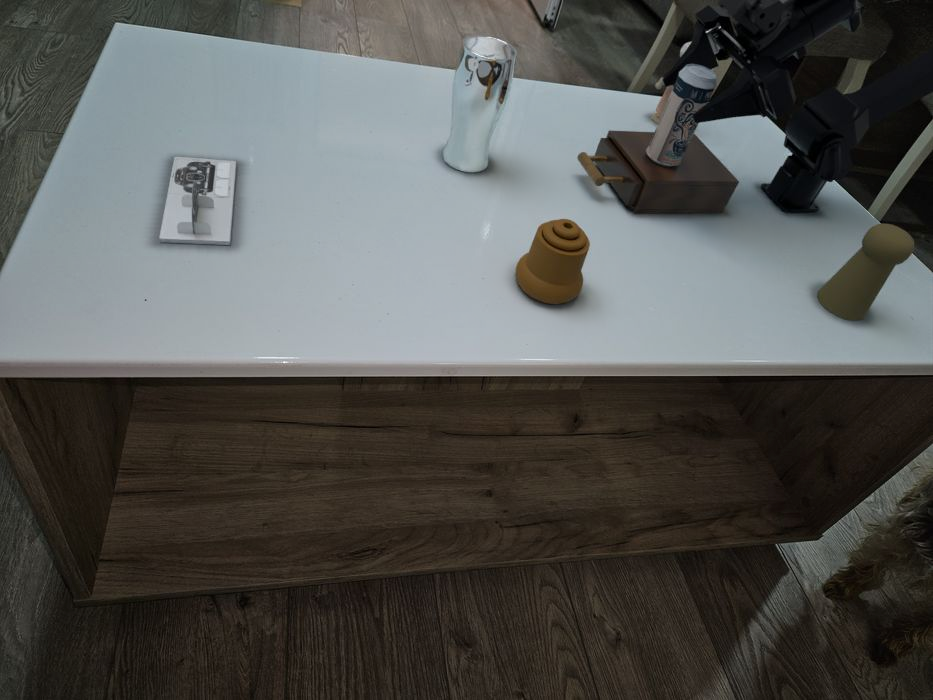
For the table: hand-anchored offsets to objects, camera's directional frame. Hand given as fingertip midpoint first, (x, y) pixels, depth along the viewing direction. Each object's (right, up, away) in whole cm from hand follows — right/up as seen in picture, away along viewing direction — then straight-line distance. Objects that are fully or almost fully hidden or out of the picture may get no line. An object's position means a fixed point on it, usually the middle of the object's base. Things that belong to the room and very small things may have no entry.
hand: (678, 100), depth 85 cm
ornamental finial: (-17, -24, -9) cm, 31 cm away
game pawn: (+20, -25, 0) cm, 32 cm away
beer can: (0, -6, +6) cm, 8 cm away
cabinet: (+1, -8, +11) cm, 14 cm away
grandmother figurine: (+5, +6, +27) cm, 28 cm away
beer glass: (-26, -6, +6) cm, 28 cm away
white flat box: (-55, -15, -11) cm, 58 cm away
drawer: (-3, -8, +9) cm, 12 cm away
